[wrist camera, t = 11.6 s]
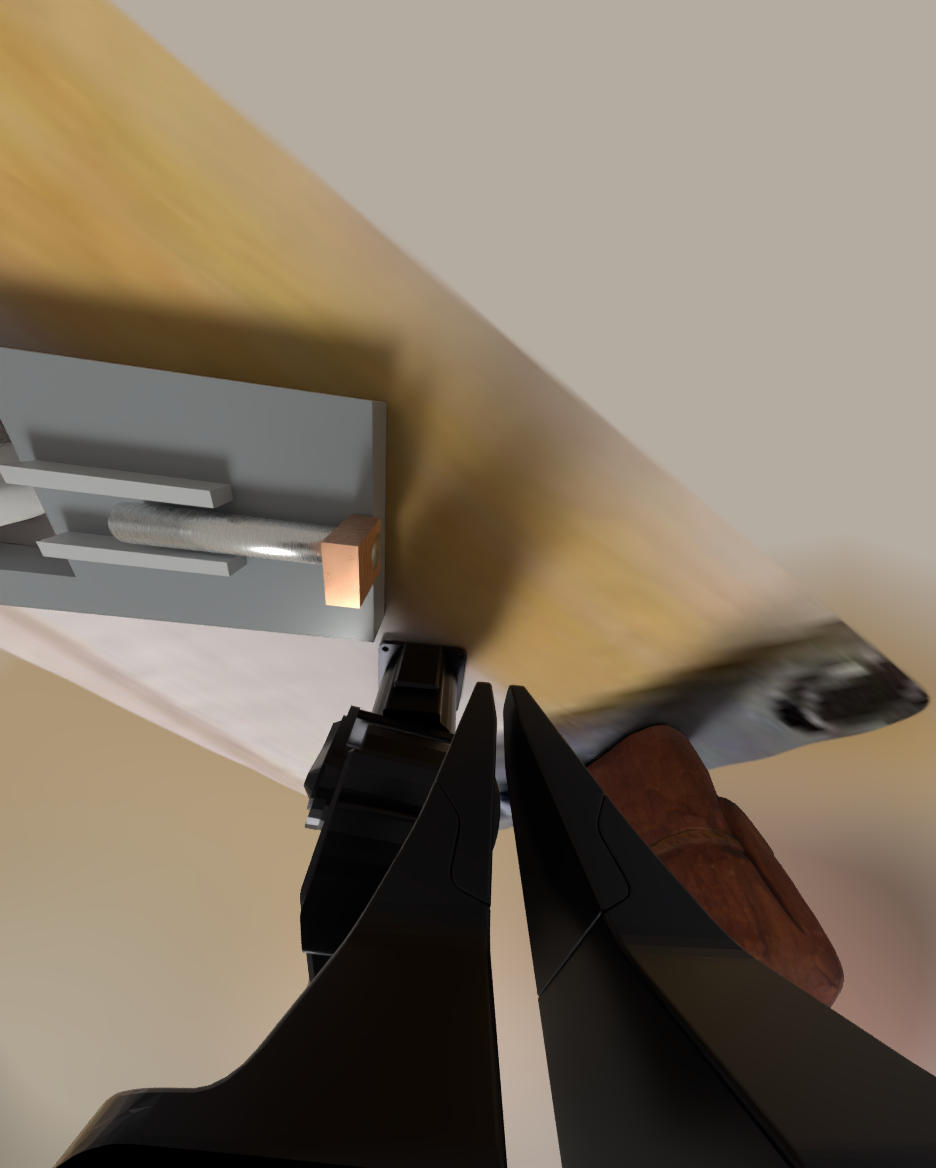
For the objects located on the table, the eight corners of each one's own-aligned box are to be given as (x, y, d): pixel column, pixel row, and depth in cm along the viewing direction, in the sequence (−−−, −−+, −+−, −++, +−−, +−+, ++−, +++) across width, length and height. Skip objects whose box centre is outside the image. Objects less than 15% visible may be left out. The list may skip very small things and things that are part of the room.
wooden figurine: (607, 799, 34) (727, 1134, 18) (560, 778, 33) (649, 1128, 17) (701, 735, 30) (970, 1110, 14) (653, 707, 28) (896, 1097, 12)
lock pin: (380, 569, 18) (359, 608, 15) (155, 543, 18) (75, 578, 14) (381, 517, 17) (358, 546, 13) (136, 487, 16) (43, 509, 13)
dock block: (384, 615, 24) (367, 657, 20) (-30, 572, 22) (-139, 608, 18) (386, 402, 17) (362, 400, 13) (-192, 318, 16) (-415, 288, 12)
